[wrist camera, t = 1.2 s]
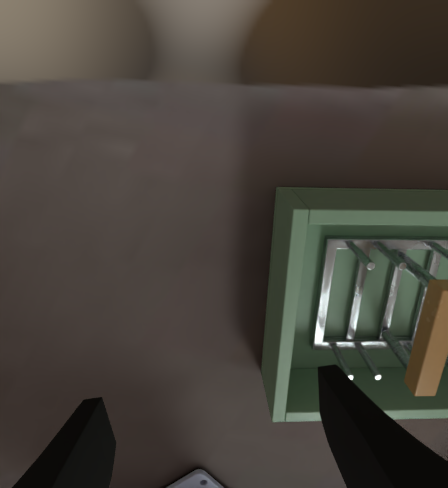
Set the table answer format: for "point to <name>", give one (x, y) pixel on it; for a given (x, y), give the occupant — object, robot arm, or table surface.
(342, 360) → the dish rack
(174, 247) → the table surface
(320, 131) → the table surface
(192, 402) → the table surface
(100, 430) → the robot arm
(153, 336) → the table surface
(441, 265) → the green open tray
